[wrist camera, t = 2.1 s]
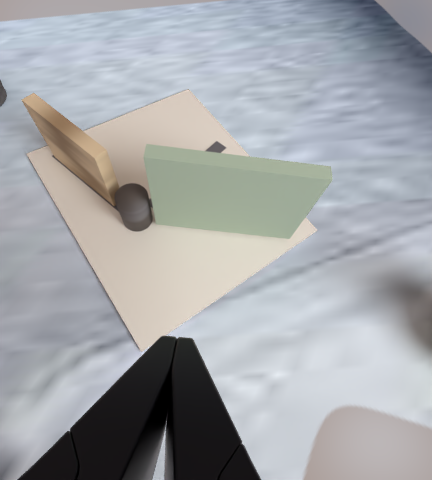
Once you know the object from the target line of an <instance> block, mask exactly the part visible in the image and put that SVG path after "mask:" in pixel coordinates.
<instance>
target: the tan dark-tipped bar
mask: <svg viewBox="0 0 432 480" xmlns="http://www.w3.org/2000/svg"><path fill="white" fill-rule="evenodd" d="M22 102H23V103H24V105H25V107H26V109H27V110H28V112H29V114H30V115H31V117H32V119H33V121H34V122H35V124H36V126H37V127H38V129H39V131H40V133H41V134H42V136H43V138H44V139H45V141H46V143H47V144H48V146H49V148H50V150H51V151H52V153H53V155H54V156H55V158H57V159H58V160H59V161H60V162H61V163H63V164H64V165H65V166H66V167H67V168H69V169H70V170H71V171H72V172H73V173H75V174H76V175H77V176H78V177H79V178H81V179H82V180H83V181H84V182H85V183H87V184H88V185H89V186H90V187H92V188H93V189H94V190H95V191H96V192H98V193H99V194H100V195H101V196H102V197H104V198H105V199H106V200H107V201H108V202H110V203H111V204H112V205H113V206H117V208H118V211H119V213H120V216H121V218H122V221H123V223H124V225H125V227H126V228H127V229H129V230H131V231H135V232H138V231H143V230H145V229H147V228H148V227H149V226H150V225H151V223H152V220H153V216H152V211H151V206H150V201H149V196H148V192H147V190H146V189H145V188H144V187H143V186H141V185H139V184H136V183H129V184H125V185H123V186H121V187H119V185H118V182H117V179H116V176H115V173H114V170H113V167H112V164H111V161H110V158H109V155H108V153H107V150H106V149H105V148H104V147H102V146H101V145H100V144H99V143H97V142H96V141H95V140H94V139H92V138H91V137H90V136H88V135H87V134H86V133H85V132H83V131H82V130H81V129H79V128H78V127H77V126H76V125H74V124H73V123H72V122H70V121H69V120H68V119H67V118H65V117H64V116H63V115H61V114H60V113H59V112H58V111H56V110H55V109H54V108H52V107H51V106H50V105H49V104H47V103H46V102H45V101H43V100H42V99H41V98H40V97H38V96H37V95H36V94H34V93H33V94H31V95H29V96H27V97H26V98H24V99H22Z"/></svg>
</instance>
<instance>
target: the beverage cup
mask: <svg viewBox="0 0 432 480" xmlns="http://www.w3.org/2000/svg"><path fill="white" fill-rule="evenodd" d="M6 97H7V94H6V91H5V89H4V87H3V86H2V83H1V80H0V106H2V104H3V103H4V102H5V100H6Z"/></svg>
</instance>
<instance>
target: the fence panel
mask: <svg viewBox="0 0 432 480" xmlns="http://www.w3.org/2000/svg"><path fill="white" fill-rule="evenodd" d="M143 158H144V163H145V169H146V174H147V179H148V184H149V190H150V195H151V200H152V205H153V211H154V216H155V221H156V224H158V225H167V226H176V227H185V228H195V229H204V230H213V231H222V232H231V233H240V234H249V235H258V236H268V237H277V238H286V239H290V238H291V236H292V235H293V234H294V232H295V231H296V230H297V228H298V227H299V225H300V224H301V223H302V221H303V220H304V219H305V217H306V216H307V214H308V213H309V212H310V210H311V209H312V208H313V206H314V205H315V203H316V202H317V201H318V199H319V198H320V197H321V195H322V194H323V192H324V191H325V190H326V188H327V187H328V186H329V184H330V183H331V181H332V171H331V167H330V166H322V165H314V164H306V163H298V162H290V161H281V160H273V159H265V158H257V157H249V156H241V155H232V154H224V153H216V152H208V151H200V150H192V149H184V148H175V147H167V146H159V145H151V144H146V148H145V152H144V157H143Z"/></svg>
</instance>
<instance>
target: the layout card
mask: <svg viewBox="0 0 432 480" xmlns="http://www.w3.org/2000/svg"><path fill="white" fill-rule="evenodd" d="M83 132H85V133H86V134H87V135H88V136H90V137H91V138H92V139H94V140H95V141H96V142H97V143H99V144H100V145H101V146H102V147H104V148H105V149H106V150H107V153H108V155H109V158H110V161H111V164H112V167H113V170H114V173H115V176H116V179H117V182H118V185H119V187H121V186H123V185H125V184H129V183H136V184H139V185H141V186H143V187H144V188H145V189H146V190H147V192H148V196H149V201H150V206H151V211H152V216H153V220H152V223H151V225H150V226H149V227H148V228H147V229H145V230H143V231H138V232H135V231H131V230H129V229H127V228H126V227H125V225H124V223H123V221H122V218H121V216H120V213H119V211H118V208H117V206H113V205H112V204H111V203H110V202H108V201H107V200H106V199H105V198H104V197H102V196H101V195H100V194H99V193H98V192H96V191H95V190H94V189H93V188H92V187H90V186H89V185H88V184H87V183H85V182H84V181H83V180H82V179H81V178H79V177H78V176H77V175H76V174H75V173H73V172H72V171H71V170H70V169H69V168H67V167H66V166H65V165H64V164H63V163H61V162H60V161H59V160H58V159H57V158H55V156H54V155H53V153H52V151H51V150H50V148H49V146H48V145H47V146H45V147H42V148H40V149H37V150H35V151H32V152H30V153H27V156H28V157H29V159H30V161H31V163H32V164H33V166H34V168H35V170H36V171H37V173H38V175H39V176H40V178H41V180H42V182H43V183H44V185H45V187H46V188H47V190H48V192H49V194H50V195H51V197H52V199H53V201H54V202H55V204H56V206H57V207H58V209H59V211H60V213H61V214H62V216H63V218H64V219H65V221H66V223H67V225H68V226H69V228H70V230H71V232H72V233H73V235H74V237H75V238H76V240H77V242H78V244H79V245H80V247H81V249H82V250H83V252H84V254H85V256H86V257H87V259H88V261H89V263H90V264H91V266H92V268H93V269H94V271H95V273H96V275H97V276H98V278H99V280H100V281H101V283H102V285H103V287H104V288H105V290H106V292H107V294H108V295H109V297H110V299H111V300H112V302H113V304H114V306H115V307H116V309H117V311H118V312H119V314H120V316H121V318H122V319H123V321H124V323H125V325H126V326H127V328H128V330H129V331H130V333H131V335H132V337H133V338H134V340H135V342H136V343H137V345H138V347H139V349H140V350H141V352H143V351H144V350H145V349H147V348H148V347H150V346H151V345H153V344H154V343H155V342H156V341H157V340H158V339H159V338H160V337H161V336H166V335H167V334H169V333H170V332H171V331H173V330H174V329H176V328H177V327H179V326H180V325H182V324H183V323H184V322H186V321H187V320H189V319H190V318H192V317H193V316H195V315H196V314H197V313H199V312H200V311H202V310H203V309H205V308H206V307H208V306H209V305H211V304H212V303H213V302H215V301H216V300H218V299H219V298H221V297H222V296H224V295H225V294H226V293H228V292H229V291H231V290H232V289H234V288H235V287H237V286H238V285H239V284H241V283H242V282H244V281H245V280H247V279H248V278H250V277H251V276H252V275H254V274H255V273H257V272H258V271H260V270H261V269H263V268H264V267H265V266H267V265H268V264H270V263H271V262H273V261H274V260H276V259H277V258H279V257H280V256H281V255H283V254H284V253H286V252H287V251H289V250H290V249H292V248H293V247H294V246H296V245H297V244H299V243H300V242H302V241H303V240H305V239H306V238H307V237H309V236H310V235H312V234H313V233H315V232H316V231H317V229H316V228H315V227H314V226H313V225H312V224H311V223H310V222H309V220H308V219H307V218H306V217H305V219H304V220H303V221H302V223H301V224H300V225H299V227H298V228H297V230H296V231H295V232H294V234H293V235H292V236H291V238H290V239H286V238H277V237H268V236H258V235H249V234H240V233H231V232H222V231H213V230H204V229H195V228H185V227H176V226H167V225H158V224H156V221H155V216H154V211H153V205H152V200H151V195H150V190H149V184H148V179H147V174H146V169H145V163H144V158H143V157H144V152H145V148H146V144H151V145H159V146H167V147H175V148H184V149H192V150H200V151H208V152H216V153H224V154H232V155H241V156H249V155H248V154H247V153H246V152H245V150H244V149H243V148H242V147H241V146H240V145H239V144H238V143H237V142H236V141H235V139H234V138H233V137H232V136H231V135H230V134H229V133H228V132H227V131H226V130H225V129H224V127H223V126H222V125H221V124H220V123H219V122H218V121H217V120H216V119H215V118H214V116H213V115H212V114H211V113H210V112H209V111H208V110H207V109H206V108H205V107H204V106H203V104H202V103H201V102H200V101H199V100H198V99H197V98H196V97H195V96H194V95H193V93H192V92H191V91H190V90H189V89H187V90H185V91H182V92H180V93H177V94H175V95H172V96H170V97H167V98H165V99H162V100H160V101H157V102H155V103H152V104H150V105H147V106H145V107H142V108H140V109H137V110H135V111H132V112H130V113H127V114H125V115H122V116H120V117H117V118H115V119H112V120H110V121H107V122H105V123H102V124H100V125H97V126H95V127H92V128H90V129H87V130H85V131H83ZM249 157H250V156H249Z"/></svg>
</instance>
